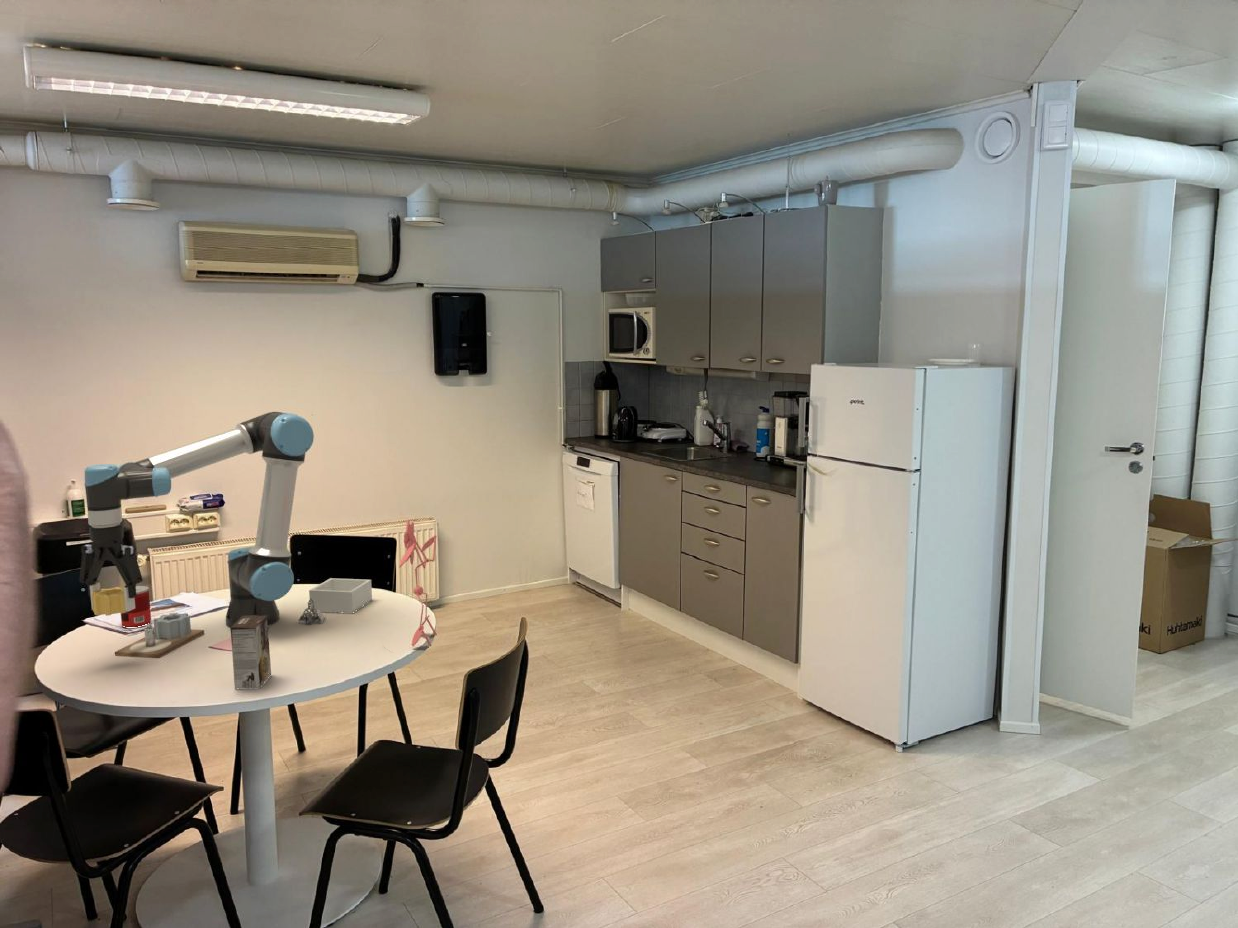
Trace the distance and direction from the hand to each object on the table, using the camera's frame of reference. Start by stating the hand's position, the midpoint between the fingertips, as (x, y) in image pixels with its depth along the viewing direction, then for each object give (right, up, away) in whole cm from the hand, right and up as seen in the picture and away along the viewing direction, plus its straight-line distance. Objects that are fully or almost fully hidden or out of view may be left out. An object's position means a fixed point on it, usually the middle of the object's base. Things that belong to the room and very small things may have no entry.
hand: (113, 609), depth 227 cm
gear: (+4, -11, +22) cm, 25 cm away
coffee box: (+41, -17, -10) cm, 45 cm away
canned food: (-13, -11, +35) cm, 39 cm away
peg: (+3, -12, +13) cm, 18 cm away
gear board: (+3, -13, +17) cm, 22 cm away
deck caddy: (+43, -8, +53) cm, 68 cm away
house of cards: (+38, -11, +35) cm, 53 cm away
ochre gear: (0, 0, 0) cm, 0 cm away
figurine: (+73, -13, +20) cm, 76 cm away
